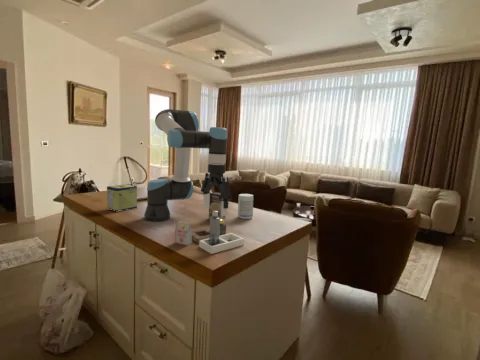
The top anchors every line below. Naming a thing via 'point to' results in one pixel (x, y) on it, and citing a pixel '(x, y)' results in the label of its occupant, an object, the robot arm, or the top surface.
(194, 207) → the top surface
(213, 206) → the coffee box
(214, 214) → the grey bottle
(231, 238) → the tray
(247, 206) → the supplement tub
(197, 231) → the socket
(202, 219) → the top surface
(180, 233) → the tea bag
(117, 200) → the protein box
